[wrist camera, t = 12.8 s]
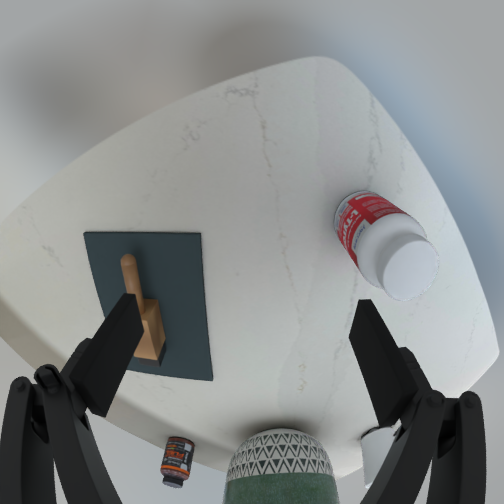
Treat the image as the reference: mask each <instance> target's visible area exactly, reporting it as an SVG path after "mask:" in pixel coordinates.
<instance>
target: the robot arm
mask: <svg viewBox="0 0 504 504" xmlns="http://www.w3.org/2000/svg"><path fill="white" fill-rule="evenodd" d="M144 332H145V331H144V327H143V323H142V319H141V315H140V311H139V307H138V303H137V298H136V294H131V293H123V295H122V296H121V298H120V299H119V300H118V302H117V303H116V305H115V306H114V307H113V309H112V310H111V312H110V313H109V315H108V316H107V317H106V319H105V320H104V322H103V323H102V325H101V326H100V328H99V329H98V331H97V332H96V334H95V335H94V337H93V338H92V339H90V338H86V339H85V340H83V341H82V342H81V343H79V345H78V346H77V348H76V349H75V352H73V354H72V355H71V357H70V358H69V360H68V361H67V363H66V364H65V366H64V368H63V369H62V371H61V372H60V373H59V371H58V370H57V368H56V367H55V366H54V365H51V364H45V365H43V366H40V367H39V368H38V369H37V370H36V372H35V374H34V379H35V380H36V382H37V384H32V383H31V382H30V380H29V379H28V378H27V377H23V376H22V377H18V378H16V379H15V380H14V381H13V382H12V384H11V386H10V390H9V394H8V399H7V403H6V409H5V414H4V419H3V425H2V433H1V440H0V504H57V503H56V493H55V481H54V461H55V464H56V468H57V472H58V476H59V479H60V482H61V485H62V488H63V491H64V494H65V497H66V500H67V502H68V504H122V502H121V500H120V498H119V496H118V494H117V492H116V490H115V488H114V486H113V484H112V481H111V479H110V477H109V475H108V472H107V470H106V467H105V465H104V463H103V460H102V458H101V455H100V452H99V450H98V447H97V445H96V441H95V439H94V436H93V433H92V430H91V427H90V423H89V420H88V417H87V415H86V413H85V411H86V409H87V407H88V408H89V410H90V411H91V413H92V414H95V415H98V416H102V417H106V415H107V413H108V410H109V408H110V405H111V403H112V401H113V398H114V396H115V394H116V392H117V389H118V387H119V385H120V383H121V380H122V378H123V376H124V374H125V372H126V369H127V367H128V365H129V363H130V361H131V359H132V357H133V354H134V352H135V350H136V348H137V346H138V344H139V342H140V340H141V338H142V336H143V334H144ZM349 340H350V342H351V345H352V348H353V350H354V353H355V356H356V358H357V361H358V364H359V367H360V369H361V372H362V375H363V378H364V381H365V384H366V387H367V389H368V392H369V395H370V398H371V401H372V404H373V407H374V410H375V414H376V417H377V420H378V423H379V426H380V428H382V427H387V426H392V425H395V423H396V422H397V421H398V419H399V418H400V421H401V426H400V427H399V428H398V429H397V431H396V432H395V433H394V435H393V436H395V435H396V436H395V439H394V441H393V443H392V445H391V447H390V450H389V452H388V454H387V456H386V458H385V460H384V462H383V464H382V466H381V468H380V470H379V472H378V474H377V476H376V477H375V479H374V481H373V483H372V485H371V486H370V488H369V490H368V492H367V494H366V495H365V497H364V498H363V500H362V501H361V503H360V504H414V502H415V500H416V498H417V496H418V493H419V491H420V489H421V486H422V484H423V481H424V479H425V476H426V474H427V471H428V468H429V465H430V462H431V460H432V467H431V476H430V484H429V491H428V497H427V503H426V504H485V493H486V443H485V429H484V419H483V411H482V404H481V400H480V398H479V396H478V395H477V394H475V393H474V392H471V391H465V392H464V393H462V395H461V396H460V397H459V398H445V396H444V395H443V394H442V393H441V392H439V391H437V390H433V389H432V388H431V386H430V384H429V382H428V380H427V378H426V376H425V374H424V373H423V371H422V369H421V368H420V365H419V363H418V362H417V360H416V358H415V356H414V354H413V353H412V352H411V351H410V350H409V349H408V348H406V347H401V348H398V346H397V345H396V343H395V341H394V339H393V337H392V335H391V334H390V332H389V330H388V328H387V326H386V325H385V323H384V321H383V319H382V318H381V316H380V314H379V312H378V311H377V309H376V307H375V305H374V304H373V302H372V300H371V299H364V300H358V304H357V308H356V312H355V316H354V320H353V323H352V327H351V330H350V334H349Z"/></svg>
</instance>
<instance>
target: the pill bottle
mask: <svg viewBox="0 0 504 504" xmlns="http://www.w3.org/2000/svg"><path fill="white" fill-rule="evenodd" d="M334 226H335V231H336V234H337V236H338V238H339V240H340V241H341V243H342V244H343V246H344V247H345V249H346V250H347V252H348V253H349V255H350V256H351V258H352V260H353V261H354V263H355V264H356V266H357V267H358V269H359V270H360V272H361V274H362V275H363V277H364V278H365V279H366V280H367V281H368V282H369V283H370V284H372V285H374V286H375V287H378V288H382V289H384V290H385V292H386V293H387V295H388V296H390V297H391V298H393V299H395V300H399V301H407V300H411V299H414V298H416V297H418V296H419V295H421V294H422V293H424V292H425V291H426V290H427V289H428V288H429V286H430V285H431V284H432V282H433V281H434V279H435V277H436V275H437V272H438V267H439V257H438V253H437V251H436V249H435V247H434V246H433V245H432V244H431V243H430V242H429V241H428V240H427V237H426V234H425V231H424V229H423V228H422V226H421V225H420V224H419V222H417V221H416V220H415V219H414V218H413V217H411V216H410V215H408V214H407V213H405V212H404V211H402V210H401V209H399V208H398V207H396V206H395V205H393V204H392V203H390V202H389V201H387V200H386V199H384V198H383V197H381V196H379V195H377V194H375V193H373V192H369V191H360V192H356V193H353V194H351V195H349V196H348V197H347V198H345V199H344V200H343V201H342V203H341V204H340V205H339V207H338V209H337V211H336V214H335V220H334Z"/></svg>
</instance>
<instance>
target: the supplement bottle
mask: <svg viewBox="0 0 504 504" xmlns="http://www.w3.org/2000/svg"><path fill="white" fill-rule="evenodd" d="M193 453H194V444H193V443H191V442H190V441H188V440H186V439H183V438H178V437H173V438H169V439H168V441H167V445H166V449H165V453H164V457H163V461H162V465H161V473H162V475H163V476H164V478H163V484H165V485H167V486H170V487H174V488H182V486H183V481H184V480H187V479H188V478H189V475H190V469H191V464H192V458H193Z"/></svg>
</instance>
